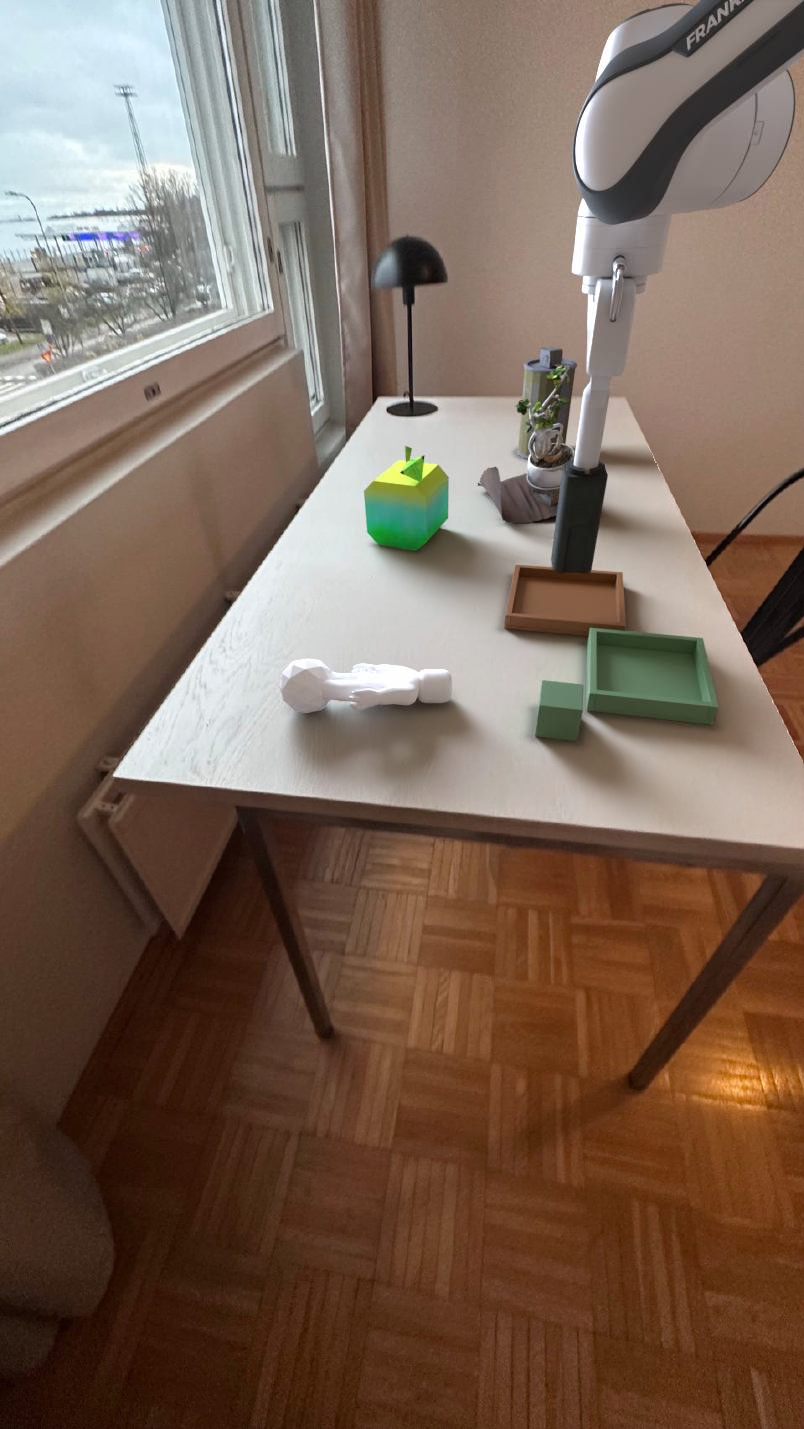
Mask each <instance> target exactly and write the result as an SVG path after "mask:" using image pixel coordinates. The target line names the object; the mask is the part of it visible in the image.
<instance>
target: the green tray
mask: <svg viewBox="0 0 804 1429" xmlns="http://www.w3.org/2000/svg"><path fill="white" fill-rule="evenodd" d="M587 637H588V638H587V643H586V694H585V695H586V696H585V700H586V701H585V710H586V711H587V712H596V713H597V712H598V713H604V714H605V713H606V714H614V715H622V716H632V717H640V718H647V719H648V718H649V719H656V720H657V719H658V720H666V721H673V722H682V723H683V722H684V723H692V724H701V725H709V726H712V725H713V724H714V720H715V718H716V715H717V713H718V710H719V703H718V699H717V694H716V689H715V686H714V681H713V678H712V677H713V676H712V672H711V668H710V667H711V666H710V664H709V659H708V654H707V651H706V646H705V641H704V637H696V636H687V635H686V636H685V635H674V634H665V633H654V632H644V631H643V632H642V631H641V632H640V631H631V630H625V631H621V630H609V629H598V628H597V629H596V628H590V632H589V636H587Z"/></svg>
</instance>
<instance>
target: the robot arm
mask: <svg viewBox="0 0 804 1429" xmlns="http://www.w3.org/2000/svg"><path fill="white" fill-rule="evenodd" d="M803 58H804V0H699V1H698V2H697V3H696V4H694V5H693V4H689V3H686V2H685V3H684V2H674V3H667V4H661V5H660V6H656V7H653V8H647V9H644V10H642V11H639V12H637V13H634V14H632V15H631V16H629V17H628V18H625V19H624V20H623V21H621V22H620V23H619V25H618V26H617V27H616V28H614V29H613V30H612V32H611V33H610V34H609V36H608V38H607V40H606V43H605V46H604V48H603V50H602V54H601V57H600V61H599V65H598V68H597V72H596V77H595V82H594V84H593V85H592V87H591V89H590V91H589V92H588V95H587V97H586V98H585V101H584V103H583V105H582V108H581V111H580V113H579V116H578V118H577V123H576V126H575V130H574V133H573V134H574V135H573V141H572V169H573V174H574V178H575V182H576V186H577V188H578V192H579V193H580V196H581V198H582V199H581V201H580V204H579V207H578V211H577V219H576V229H575V237H574V238H575V239H574V249H573V256H572V263H571V273H572V274H574V275H576V276H581V277H582V285H581V292H582V294H585V295H587V326H586V327H587V329H586V330H587V336H586V337H587V339H586V340H587V342H586V364H585V365H586V374H587V375H588V376H590V379H589V380H590V381H589V383H590V382H591V389H590V396H589V406H590V407H591V408H602V407H604V406H605V403H606V397H607V391H608V388H609V387H610V383H611V380H612V378H613V377H620V376H622V374H623V372H624V371H625V366H626V364H627V359H628V358H627V357H628V352H629V345H630V341H631V340H630V339H631V334H632V327H633V322H634V314H635V307H636V299H637V298H636V297H637V295H640V294H642V293H644V292H645V291H646V286H647V283H646V282H647V280H648V276H652V275H656V274H659V273H661V272H662V271H663V270H662V269H663V266H664V265H663V264H664V259H665V254H666V248H667V243H668V238H669V233H670V227H671V223H672V217H673V215H677V214H688V213H689V214H690V213H694V212H699V211H710V210H711V211H712V210H717V209H718V210H719V209H723V208H727V207H729V206H732V205H735V204H738V203H740V202H743V201H745V200H747V199H749V198H751V197H752V196H753V195H754V194H755V193H757V192H759V190H760V189H761V188H762V187H763V186H764V185H765V183H766V182H767V181H768V180H769V178H770V177H771V176H772V174H773V173H774V172H775V170H776V168H777V167H778V165H779V163H780V162H781V160H782V158H783V156H784V154H785V151H786V149H787V146H788V144H789V141H790V137H791V135H792V130H793V127H794V121H795V115H796V90H795V84H794V80H793V78H792V77H793V76H792V75H791V73H790V71H789V69H790V68H791V67H792V66H794V65H795V64H797V63H798V62H799V61H801V60H802V59H803ZM609 389H610V388H609Z"/></svg>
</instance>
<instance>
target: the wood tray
mask: <svg viewBox="0 0 804 1429" xmlns="http://www.w3.org/2000/svg"><path fill="white" fill-rule="evenodd" d="M623 575H624V574H623V572H622V571H612V570H611V571H609V570H597V569H592V570H591V572H589V573H586V574H582V573H557V572H555V571H554V570H553V568H552V566H544V565H543V566H542V565H530V564H529V565H528V564H527V565H526V564H515V565H514V569H513V573H512V580H511V585H510V589H509V595H508V599H507V605H506V611H505V616H504V626H503V627H504V629H506V630H517V631H529V632H540V633H550V634H561V635H572V636H581V637H582V636H584V637H589V632H590V628H596V629H597V628H598V629H609V630H621V631H626V628H627V619H626V618H627V617H626V606H625V604H626V603H625V592H624V591H625V590H624V576H623Z"/></svg>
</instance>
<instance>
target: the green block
mask: <svg viewBox="0 0 804 1429" xmlns="http://www.w3.org/2000/svg"><path fill="white" fill-rule="evenodd" d="M583 711H584V684H582V683H573V682H563V681H554V680H545V679H542V680H541V684H540V689H539V698H538V704H537V711H536V712H537V713H536V720H535V721H536V722H535V733H534V736H535V737H539V738H546V739H553V740H562V741H571V742H577V740H578V736H579V732H580V727H581V721H582V716H583Z"/></svg>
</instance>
